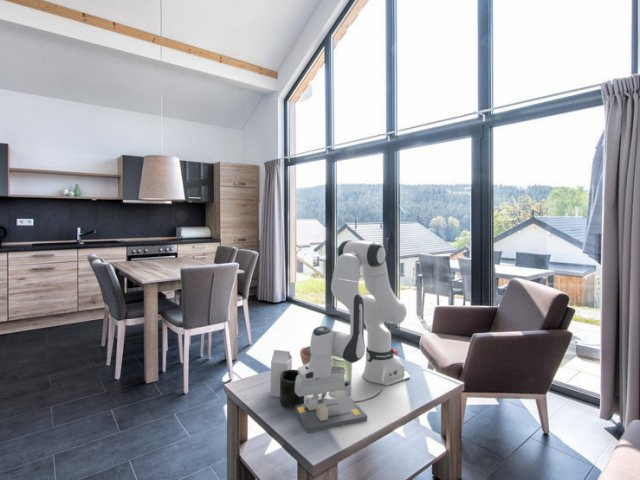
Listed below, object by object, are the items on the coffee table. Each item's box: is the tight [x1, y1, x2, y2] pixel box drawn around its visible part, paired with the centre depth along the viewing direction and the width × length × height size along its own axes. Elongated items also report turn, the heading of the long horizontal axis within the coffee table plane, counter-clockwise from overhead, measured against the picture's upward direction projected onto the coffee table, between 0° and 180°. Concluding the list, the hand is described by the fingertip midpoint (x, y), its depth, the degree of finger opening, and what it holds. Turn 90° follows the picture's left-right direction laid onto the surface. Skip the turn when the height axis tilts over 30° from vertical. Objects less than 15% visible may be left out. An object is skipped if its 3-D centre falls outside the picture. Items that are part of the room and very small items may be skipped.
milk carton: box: [269, 349, 293, 398], centre depth 162 cm, size 7×7×19 cm
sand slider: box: [316, 404, 328, 421], centre depth 140 cm, size 3×4×4 cm
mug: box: [279, 369, 306, 410], centre depth 155 cm, size 11×15×12 cm
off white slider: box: [305, 395, 317, 410], centre depth 147 cm, size 3×4×4 cm
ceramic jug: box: [299, 345, 311, 366], centre depth 175 cm, size 18×14×14 cm
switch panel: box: [293, 395, 368, 434], centre depth 146 cm, size 24×16×2 cm, turn 111°
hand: (319, 402), depth 148 cm, fingers closed
